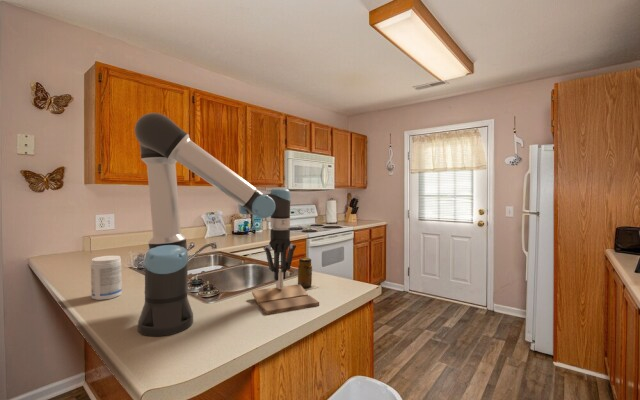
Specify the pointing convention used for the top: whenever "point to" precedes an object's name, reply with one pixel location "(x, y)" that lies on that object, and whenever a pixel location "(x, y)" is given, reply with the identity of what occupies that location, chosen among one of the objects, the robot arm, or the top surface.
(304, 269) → the condiment
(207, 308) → the top surface
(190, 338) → the top surface
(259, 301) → the board
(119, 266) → the supplement tub
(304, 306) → the floor board
